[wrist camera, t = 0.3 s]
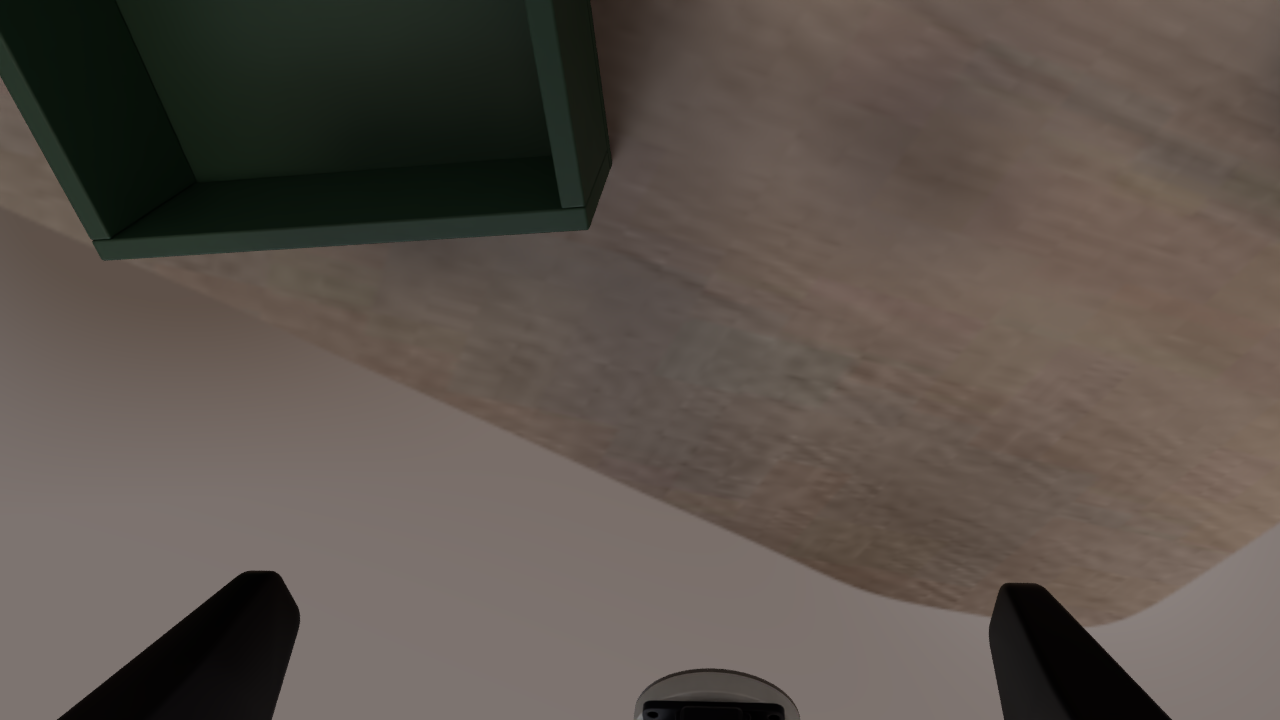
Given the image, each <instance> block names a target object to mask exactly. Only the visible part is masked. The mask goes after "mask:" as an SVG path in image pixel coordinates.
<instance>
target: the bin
mask: <svg viewBox="0 0 1280 720" xmlns="http://www.w3.org/2000/svg"><path fill="white" fill-rule="evenodd" d="M0 76H1V78H2V80H3V82H4V84H5V85H6V87H7V89H8V91H9V93H10V94H11V96H12V98H13V100H14V102H15V103H16V105H17V107H18V109H19V111H20V112H21V114H22V116H23V118H24V120H25V121H26V123H27V125H28V127H29V129H30V131H31V132H32V134H33V136H34V138H35V140H36V141H37V143H38V145H39V147H40V149H41V150H42V152H43V154H44V156H45V158H46V159H47V161H48V163H49V165H50V167H51V168H52V170H53V172H54V174H55V176H56V178H57V179H58V181H59V183H60V185H61V187H62V188H63V190H64V192H65V194H66V196H67V197H68V199H69V201H70V203H71V205H72V206H73V208H74V210H75V212H76V214H77V215H78V217H79V219H80V221H81V223H82V225H83V226H84V228H85V230H86V232H87V234H88V235H89V237H90V239H92V240H93V241H92V242H93V245H94V246H95V248H96V250H97V252H98V254H99V256H100V257H101V259H102V260H104V261H106V260H121V259H137V258H153V257H169V256H184V255H200V254H216V253H232V252H247V251H263V250H279V249H294V248H310V247H326V246H342V245H357V244H373V243H389V242H405V241H420V240H436V239H452V238H468V237H483V236H499V235H515V234H531V233H546V232H562V231H578V230H588V229H589V227H590V225H591V222H592V219H593V216H594V213H595V210H596V208H597V205H598V202H599V199H600V196H601V194H602V191H603V188H604V185H605V182H606V179H607V177H608V174H609V171H610V168H611V166H612V159H611V151H610V144H609V136H608V129H607V122H606V114H605V107H604V99H603V92H602V85H601V77H600V70H599V63H598V55H597V48H596V40H595V33H594V26H593V18H592V11H591V3H590V0H0Z"/></svg>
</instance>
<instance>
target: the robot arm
mask: <svg viewBox="0 0 1280 720" xmlns="http://www.w3.org/2000/svg"><path fill="white" fill-rule="evenodd" d="M299 624H300V613H299V609H298V606H297V605H296V603H295V601H294V599H293V597H292V595H291V594H290V592H289V590H288V588H287V586H286V585H285V583H284V581H283V579H282V578H281V576H280V575H279V574H278V573H276V572H274V571H247V572H244V573H242V574H240V575H238V576H237V577H236V578H234V579H233V580H232V581H231V582H229V583H228V584H227V585H226V586H224V587H223V588H222V589H221V590H219V591H218V592H217V593H216V594H214V595H213V596H212V597H210V598H209V599H208V600H207V601H206V602H204V603H203V604H202V605H200V606H199V607H198V608H197V609H196V610H194V611H193V612H192V613H190V614H189V615H188V616H187V617H185V618H184V619H183V620H182V621H180V622H179V623H178V624H177V625H175V626H174V627H173V628H172V629H170V630H169V631H168V632H167V633H165V634H164V635H163V636H162V637H160V638H159V639H158V640H157V641H155V642H154V643H153V644H152V645H150V646H149V647H148V648H146V649H145V650H144V651H143V652H141V653H140V654H139V655H138V656H136V657H135V658H134V659H133V660H131V661H130V662H129V663H128V664H126V665H125V666H124V667H123V668H121V669H120V670H119V671H118V672H116V673H115V674H114V675H113V676H111V677H110V678H109V679H108V680H106V681H105V682H104V683H103V684H101V685H100V686H99V687H98V688H96V689H95V690H94V691H93V692H91V693H90V694H89V695H87V696H86V697H85V698H84V699H83V700H81V701H80V702H79V703H78V704H76V705H75V706H74V707H72V708H71V709H70V710H69V711H68V712H66V713H65V714H64V715H62V716H61V717H60V718H59V719H57V720H272V717H273V713H274V710H275V707H276V703H277V700H278V696H279V693H280V690H281V686H282V683H283V680H284V676H285V673H286V670H287V666H288V663H289V660H290V656H291V653H292V649H293V646H294V643H295V639H296V636H297V632H298V629H299ZM989 642H990V649H991V654H992V659H993V664H994V669H995V674H996V679H997V685H998V690H999V695H1000V700H1001V705H1002V711H1003V715H1004V720H1172V719H1171V718H1170V717H1169V716H1168V715H1167V714H1166V713H1165V712H1164V711H1163V710H1162V709H1161V708H1160V707H1159V706H1158V705H1157V704H1156V703H1155V702H1154V701H1153V700H1152V699H1151V697H1149V696H1148V694H1147V693H1146V692H1145V691H1144V690H1143V689H1142V688H1141V687H1140V686H1139V685H1138V684H1137V683H1136V682H1135V681H1134V680H1133V679H1132V678H1131V677H1130V676H1129V675H1128V674H1127V673H1126V672H1125V670H1123V668H1122V667H1121V666H1120V665H1119V664H1118V663H1117V662H1116V661H1115V660H1114V659H1113V658H1112V657H1111V656H1110V655H1109V654H1108V653H1107V652H1106V651H1105V650H1104V649H1103V648H1102V647H1101V646H1100V645H1099V643H1098V642H1097V641H1096V640H1095V639H1094V638H1093V637H1092V636H1091V635H1090V634H1089V633H1088V632H1087V631H1086V630H1085V629H1084V628H1083V627H1082V626H1081V625H1080V624H1079V623H1078V622H1077V621H1076V620H1075V619H1074V618H1073V616H1072V615H1071V614H1070V613H1069V612H1068V611H1067V610H1066V609H1065V608H1064V607H1063V606H1062V605H1061V604H1060V603H1059V602H1058V601H1057V600H1056V599H1055V598H1054V597H1053V596H1052V595H1051V594H1050V593H1049V592H1048V591H1047V590H1046V589H1045V588H1044V587H1042V586H1041V585H1039V584H1035V583H1005V584H1003V585H1002V586H1001V588H1000V590H999V593H998V596H997V600H996V603H995V607H994V611H993V614H992V618H991V622H990V626H989ZM642 716H643V720H785V710H784V707H783V706H782V705H779V704H775V703H745V702H703V701H662V700H650V701H646V702H645V703H644V704H643V711H642Z"/></svg>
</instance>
